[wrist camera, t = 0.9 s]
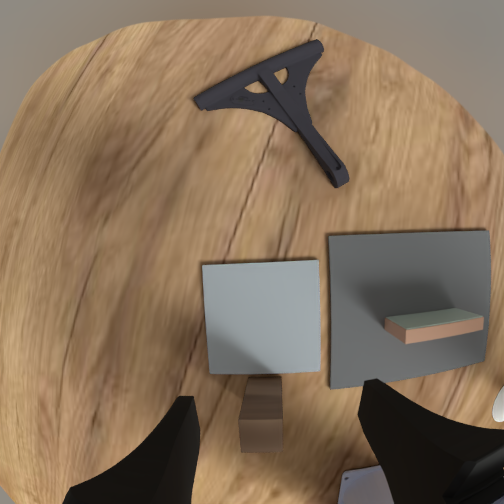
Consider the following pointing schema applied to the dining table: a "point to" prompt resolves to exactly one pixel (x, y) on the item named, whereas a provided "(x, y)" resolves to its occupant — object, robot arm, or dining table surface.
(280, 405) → the walnut stick
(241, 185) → the dining table surface
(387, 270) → the slate mat
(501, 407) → the champagne flute
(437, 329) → the tile
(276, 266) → the rest pad
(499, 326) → the dining table surface
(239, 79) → the bracket
